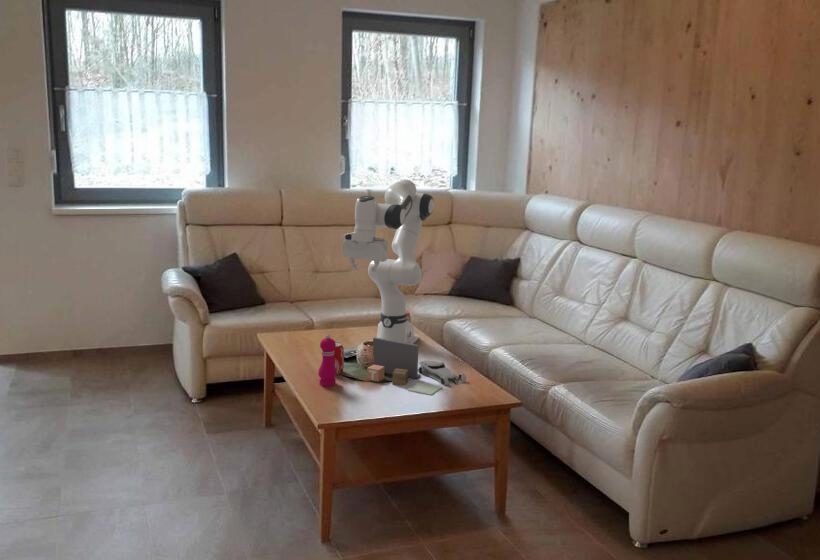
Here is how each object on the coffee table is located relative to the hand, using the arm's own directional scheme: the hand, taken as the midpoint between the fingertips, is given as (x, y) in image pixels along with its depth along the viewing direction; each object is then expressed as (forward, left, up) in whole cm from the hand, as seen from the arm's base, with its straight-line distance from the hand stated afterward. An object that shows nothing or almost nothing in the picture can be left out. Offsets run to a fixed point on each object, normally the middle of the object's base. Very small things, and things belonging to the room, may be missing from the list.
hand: (364, 270), depth 315 cm
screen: (+2, +17, -41) cm, 44 cm away
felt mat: (+12, +35, -41) cm, 55 cm away
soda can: (+14, -5, -41) cm, 43 cm away
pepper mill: (+27, 0, -41) cm, 49 cm away
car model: (-5, +33, -41) cm, 53 cm away
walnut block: (+11, +24, -41) cm, 49 cm away
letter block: (+12, +13, -41) cm, 45 cm away
